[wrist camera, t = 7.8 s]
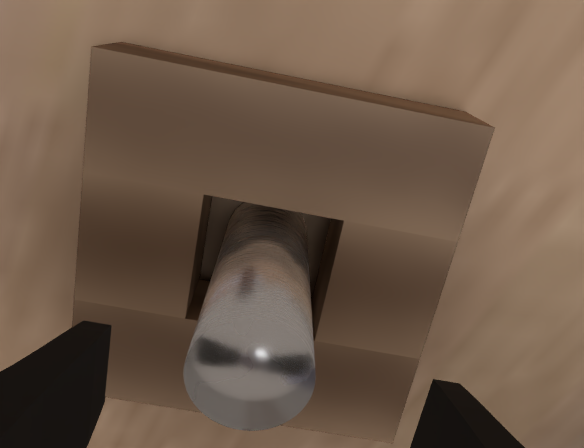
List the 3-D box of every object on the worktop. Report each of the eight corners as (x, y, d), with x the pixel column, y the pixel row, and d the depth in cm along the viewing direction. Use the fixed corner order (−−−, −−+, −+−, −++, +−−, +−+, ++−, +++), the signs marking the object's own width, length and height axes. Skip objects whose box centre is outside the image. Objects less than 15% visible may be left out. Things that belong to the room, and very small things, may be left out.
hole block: (380, 392, 24) (392, 443, 21) (95, 344, 23) (67, 391, 20) (465, 111, 19) (494, 127, 17) (121, 42, 19) (91, 46, 16)
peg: (294, 277, 22) (295, 442, 13) (219, 258, 21) (171, 414, 13) (316, 207, 21) (331, 337, 12) (238, 186, 20) (198, 305, 12)
